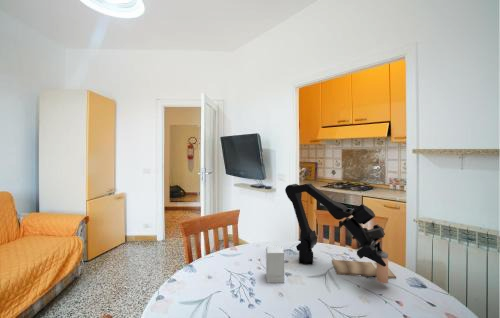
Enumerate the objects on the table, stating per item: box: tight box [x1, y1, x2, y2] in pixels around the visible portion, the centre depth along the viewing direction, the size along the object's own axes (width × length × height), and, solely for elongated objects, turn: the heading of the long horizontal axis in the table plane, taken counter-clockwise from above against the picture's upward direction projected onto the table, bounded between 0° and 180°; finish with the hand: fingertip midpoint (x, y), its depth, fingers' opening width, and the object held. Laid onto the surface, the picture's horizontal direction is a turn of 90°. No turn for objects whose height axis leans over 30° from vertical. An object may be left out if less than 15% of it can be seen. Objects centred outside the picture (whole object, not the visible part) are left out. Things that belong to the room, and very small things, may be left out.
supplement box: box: [265, 245, 285, 284], centre depth 95 cm, size 7×7×13 cm
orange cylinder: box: [376, 250, 389, 284], centre depth 88 cm, size 4×4×11 cm
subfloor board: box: [331, 259, 397, 279], centre depth 102 cm, size 24×12×1 cm, turn 79°
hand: (386, 263), depth 87 cm, fingers closed on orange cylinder, 4 cm apart
